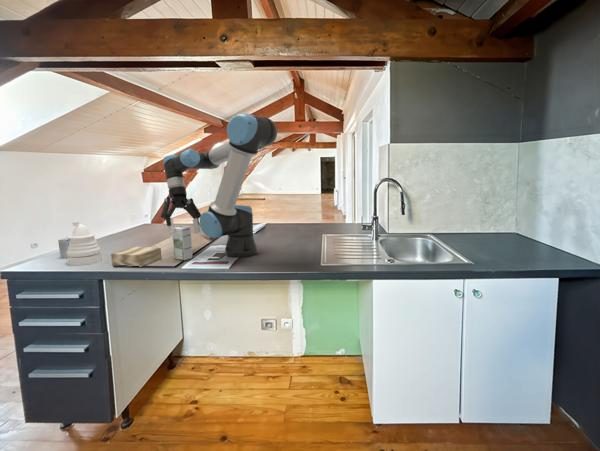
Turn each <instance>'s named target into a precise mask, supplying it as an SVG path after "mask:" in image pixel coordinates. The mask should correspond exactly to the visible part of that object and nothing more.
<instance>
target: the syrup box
mask: <svg viewBox="0 0 600 451" xmlns="http://www.w3.org/2000/svg"><path fill="white" fill-rule="evenodd" d="M191 229H192V228H191V226H184V225H183V226H182V225H178V226H174V230H175V232H174V233H172V241H173V252H174V254H173V255H174V256H173V257H174V260H177V261H186V260H189V259H192V258H193V246H192V235H191V234H192V233H191V232H192V231H191Z"/></svg>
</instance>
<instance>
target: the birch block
mask: <svg viewBox="0 0 600 451" xmlns="http://www.w3.org/2000/svg"><path fill="white" fill-rule="evenodd" d="M110 256H111V265H112V266H117V265H132V266H139V268H141V267H144V266H143V265H145V264H147V265H149V264H152V263H154V262H156V260H157V261H159V260H161V259H162V248H161V247H153V246H149V247H148V246H132V247H127V248H126V249H122V250H119V251H115V252H113V253H111V254H110ZM151 262H152V263H151ZM148 263H149V264H148ZM132 266H131V267H132ZM145 266H146V265H145Z"/></svg>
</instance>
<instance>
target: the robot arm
mask: <svg viewBox="0 0 600 451" xmlns="http://www.w3.org/2000/svg"><path fill="white" fill-rule="evenodd" d="M226 133H227V138H228V141H227V142H225V143H223V144H220V145H219V146H217V147H214V148H213V149H211V150H209V151H206V152H198V151H197V150H195V149H193V148H188V149H186V150H184V151H182V152H181V153H180V154H178V155H177V154H169V155H166V156H164V157H163V159H162V162H163V168H164V174H165V178H166V183H167V190H168V195H169V196H167V197H165V198H164V204H163V208H162V211H161V216H160V217H161V218H162V219H163V220H164V221H165V222H166V226H167V227H168V231H169V235H170V234H171V235H173V233H174V232H175V230H174V227H175V226H174V220H173V218H172V215H173V214H174V212H175V210H176V209H183V210H185V211H186V212H187V213H188V214H189V215H190V217H191V218H192V225H193V229H194V234H197V233H200V232H201V231H202V233H203V234H204V235H205V236H206V237H208V238H211V239H215V238H216V239H217V238H221V237H225V236H227V241H226V244H225V249H224V254H225V256H227V257H232V258H244V257H250V256H255V255H256V254H258V246H257V243H256V241H255V237H254V220H253V219H254V218H253V217H254V216H253V209H252V206H250V205H244V204H243V205H242V204H241V205H240V204H237V201H238V199H239V196H240V192H241V189H242V187H243V184H244V181H245V177H246V175H247V173H248V169H249V166H250V163H251V160H252V157H253V156H256V155H257V154H258V151H259V150H262V149H264V148H267V147H269V146H271V145H273V143H274V142H276V139H277V137H278V128H277V126H276V123H275V122H274V121H273V120H272V119H270V118H269V117H266V116H262V115H261V116H259V115H254V114H251V113H238V114H236V115H233V116H232V117H231V119H230V120H229V121H228V124H227V126H226ZM225 162H226V164H225V167H224V171H223V174H222V178H221V180H220V184H219V187H218V190H217V194H216V197H215V200H214V201H211V202H210V204H209V206H208V209H207V210H205V211H204V212H202V213H201V212H200V210H199V209H198V206H196V205H195V202H194V199H193V198H192V197H191V198H188V197H187V190H186V184H185V178H184V174H183V173H186V172H187V171H188V170H189V171H190V170H214V169H218V168H219V167H220V165H221V164H223V163H225ZM170 204H172V205H171V206H170ZM200 229H201V230H200Z"/></svg>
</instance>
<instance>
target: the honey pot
mask: <svg viewBox="0 0 600 451" xmlns="http://www.w3.org/2000/svg"><path fill="white" fill-rule="evenodd" d="M79 223H80V221H72V222H71V224H72V226H74V227H75V229H74V230H73V232H72V235H69V236H67V238H69V239H71V240H70V243H69V247H68V250H67V258H66V259H67V264H68V266H85V265H92V264H96V263H99V262H101V261H102V259H103V258H102V252H101V250H102V249H101V247H100V246H99V243H98V240H96V238H95V236H96V234H94V233H92V231H91V230H90V229H89V228H88V226H87V225H84V224H79Z"/></svg>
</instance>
